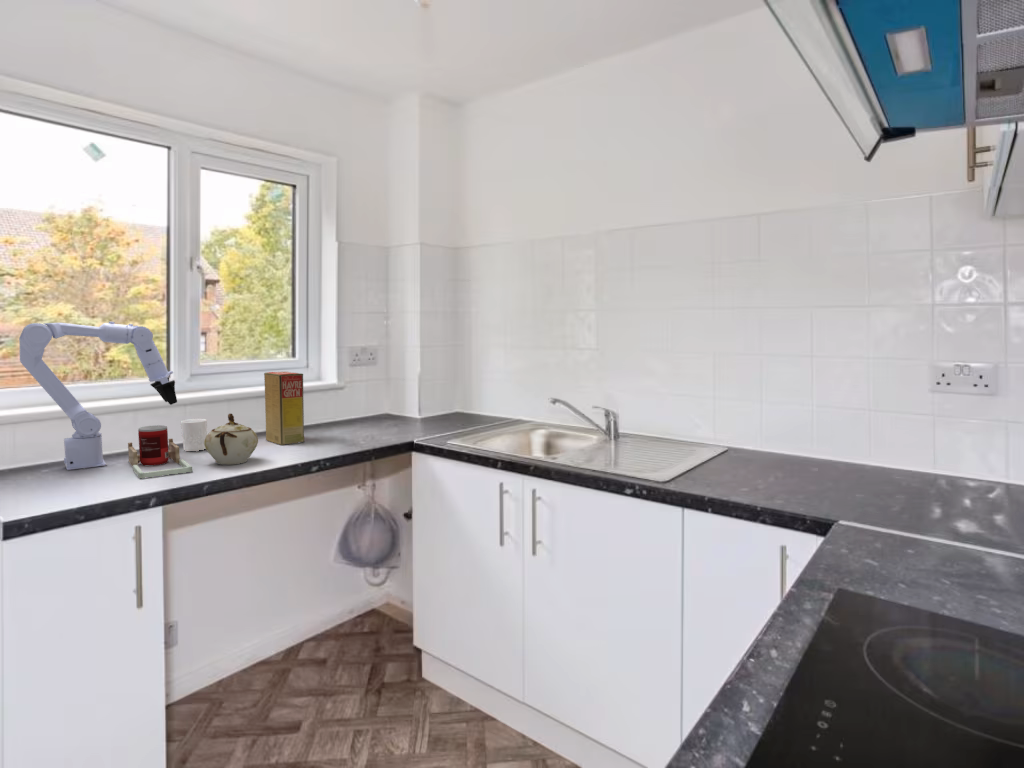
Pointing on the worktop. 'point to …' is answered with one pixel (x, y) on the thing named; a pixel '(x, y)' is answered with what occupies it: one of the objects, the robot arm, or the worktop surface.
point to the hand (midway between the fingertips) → (171, 402)
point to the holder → (173, 451)
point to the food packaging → (284, 407)
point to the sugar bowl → (231, 443)
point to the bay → (164, 472)
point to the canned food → (153, 445)
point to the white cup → (194, 434)
